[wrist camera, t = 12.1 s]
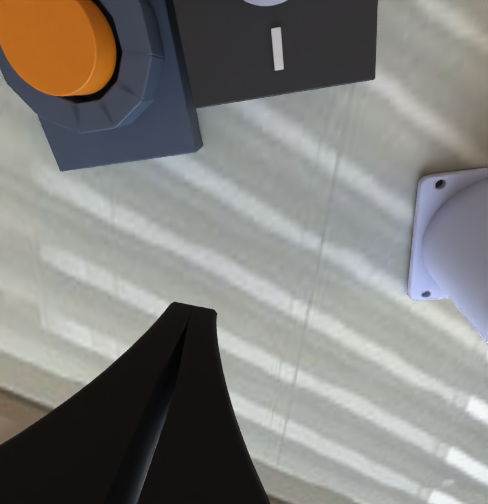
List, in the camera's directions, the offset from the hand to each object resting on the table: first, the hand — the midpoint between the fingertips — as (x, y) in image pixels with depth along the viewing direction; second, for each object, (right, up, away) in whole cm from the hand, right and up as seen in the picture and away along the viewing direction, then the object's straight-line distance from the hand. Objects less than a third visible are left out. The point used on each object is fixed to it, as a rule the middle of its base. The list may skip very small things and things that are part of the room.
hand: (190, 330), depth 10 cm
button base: (-5, +12, +6) cm, 14 cm away
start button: (-5, +11, +3) cm, 12 cm away
